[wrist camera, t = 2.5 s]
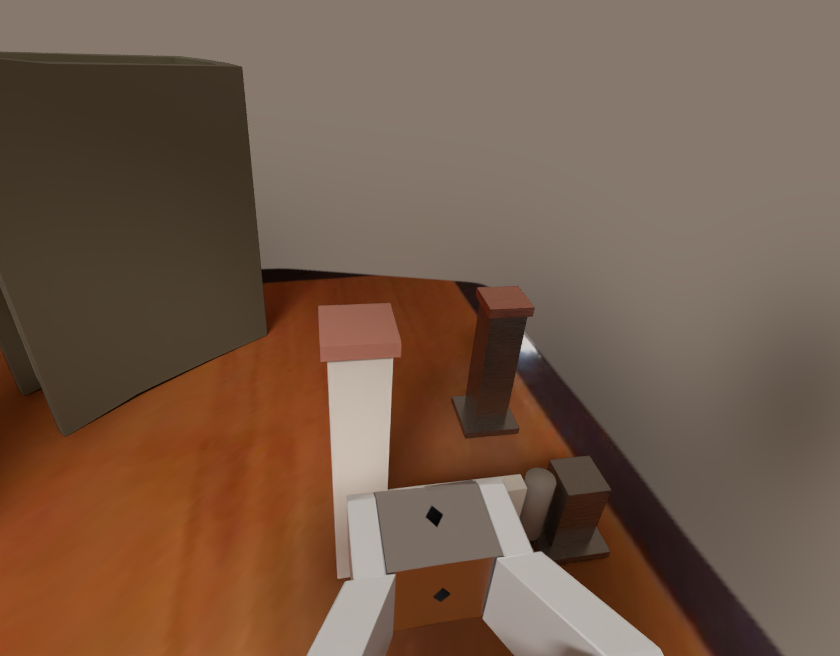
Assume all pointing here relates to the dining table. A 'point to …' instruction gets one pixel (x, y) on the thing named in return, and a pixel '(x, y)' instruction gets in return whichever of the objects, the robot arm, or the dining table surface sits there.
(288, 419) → the dining table surface
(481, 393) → the post
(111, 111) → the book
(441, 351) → the dining table surface
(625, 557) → the dining table surface
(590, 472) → the hinge post
